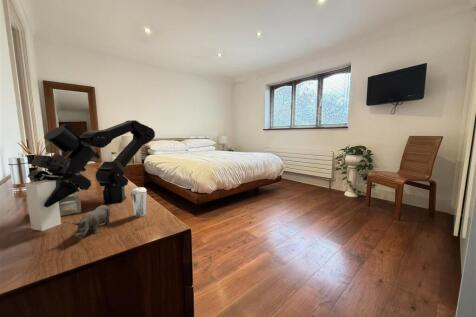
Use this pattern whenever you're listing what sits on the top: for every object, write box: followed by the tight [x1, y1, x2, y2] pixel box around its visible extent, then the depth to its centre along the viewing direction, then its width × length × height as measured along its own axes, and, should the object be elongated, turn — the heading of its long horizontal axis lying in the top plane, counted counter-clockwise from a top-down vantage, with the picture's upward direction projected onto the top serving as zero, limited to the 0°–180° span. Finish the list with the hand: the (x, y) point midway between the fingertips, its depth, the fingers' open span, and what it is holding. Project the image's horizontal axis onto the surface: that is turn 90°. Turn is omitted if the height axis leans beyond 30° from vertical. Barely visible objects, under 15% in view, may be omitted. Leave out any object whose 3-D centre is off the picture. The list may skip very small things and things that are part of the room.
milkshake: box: [127, 184, 148, 218], centre depth 63 cm, size 4×5×10 cm
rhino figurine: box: [71, 204, 111, 240], centre depth 52 cm, size 4×14×6 cm, turn 4°
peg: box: [24, 180, 62, 232], centre depth 55 cm, size 4×4×13 cm
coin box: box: [59, 193, 82, 217], centre depth 67 cm, size 10×10×4 cm
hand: (37, 205), depth 54 cm, fingers open, 6 cm apart
